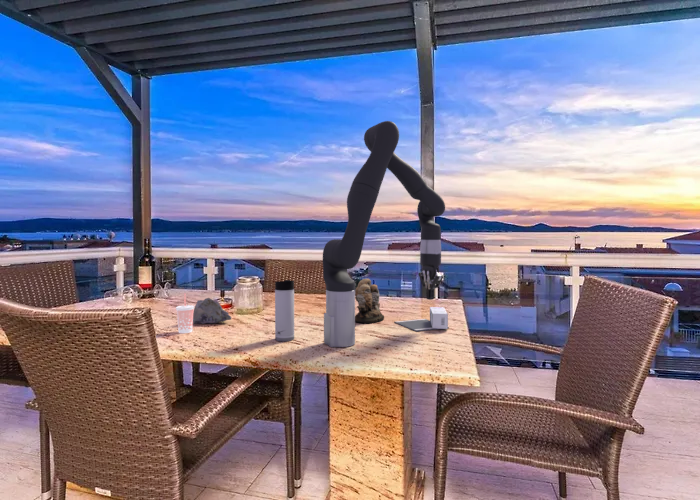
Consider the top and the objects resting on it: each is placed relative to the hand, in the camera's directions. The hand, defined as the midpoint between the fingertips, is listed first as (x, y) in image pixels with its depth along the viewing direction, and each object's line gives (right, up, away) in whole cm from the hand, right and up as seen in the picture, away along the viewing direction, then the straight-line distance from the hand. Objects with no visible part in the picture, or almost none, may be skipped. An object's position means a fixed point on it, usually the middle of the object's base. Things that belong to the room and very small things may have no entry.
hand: (430, 299), depth 151 cm
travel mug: (-51, -12, -15) cm, 55 cm away
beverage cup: (-88, -11, -5) cm, 89 cm away
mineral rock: (-83, -11, +9) cm, 85 cm away
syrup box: (+3, -8, -3) cm, 9 cm away
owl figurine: (-22, -11, +16) cm, 29 cm away
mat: (-2, -11, +6) cm, 13 cm away
